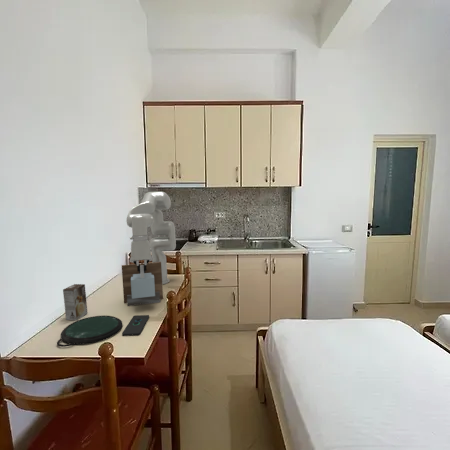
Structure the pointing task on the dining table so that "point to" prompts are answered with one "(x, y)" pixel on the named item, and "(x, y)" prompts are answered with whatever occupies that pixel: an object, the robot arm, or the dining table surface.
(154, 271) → the wall board
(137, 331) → the smart home device
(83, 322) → the dark green flat disc
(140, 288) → the block with top knob
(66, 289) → the coffee box
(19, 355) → the dining table surface
